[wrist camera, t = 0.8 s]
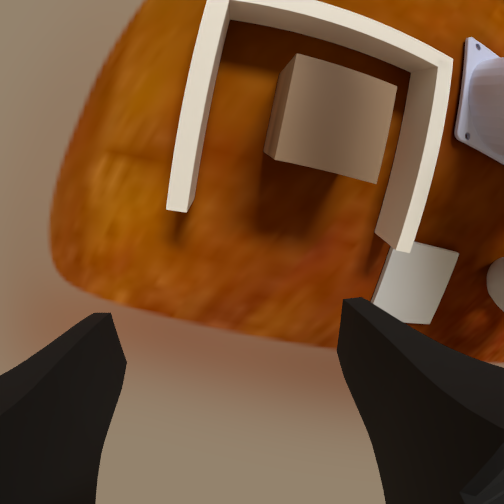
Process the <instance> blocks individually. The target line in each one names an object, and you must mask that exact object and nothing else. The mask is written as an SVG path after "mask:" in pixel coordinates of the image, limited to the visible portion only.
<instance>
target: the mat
mask: <svg viewBox="0 0 504 504" xmlns="http://www.w3.org/2000/svg"><path fill="white" fill-rule="evenodd" d="M458 256H459V253H458V252H456V251H452V250H448V249H444V248H440V247H435V246H431V245H427V244H423V243H419V242H413V245H412V248H411V251H410V253H407V252H402V251H397V250H395V249H394V248H393V247H390V250H389V253H388V255H387V258H386V261H385V264H384V267H383V270H382V273H381V275H380V278H379V281H378V284H377V286H376V289H375V292H374V294H373V297H372V299H371V303H373V304H374V305H376V306H378V307H379V308H381V309H382V310H384V311H386V312H387V313H389V314H390V315H392V316H394V317H395V318H397V319H398V320H400V321H402V322H403V323H418V324H430V322H431V320H432V318H433V316H434V314H435V312H436V309H437V307H438V305H439V303H440V301H441V298H442V296H443V294H444V291H445V289H446V287H447V284H448V282H449V279H450V277H451V274H452V272H453V269H454V267H455V264H456V261H457V259H458Z"/></svg>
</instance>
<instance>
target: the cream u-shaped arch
mask: <svg viewBox="0 0 504 504" xmlns="http://www.w3.org/2000/svg"><path fill="white" fill-rule="evenodd" d="M230 20H235V21H242V22H248V23H253V24H259V25H264V26H269V27H274V28H278V29H283V30H287V31H292V32H296V33H300V34H303V35H307V36H311V37H315V38H318V39H322V40H325V41H328V42H332V43H335V44H338V45H341V46H344V47H347V48H350V49H353V50H356V51H359V52H361V53H364V54H367V55H370V56H372V57H375V58H377V59H380V60H382V61H385V62H387V63H390V64H392V65H394V66H397V67H399V68H401V69H404V70H406V71H408V72H410V73H411V75H410V81H409V88H408V94H407V99H406V105H405V110H404V116H403V121H402V126H401V130H400V135H399V140H398V144H397V149H396V153H395V158H394V162H393V166H392V170H391V174H390V178H389V182H388V186H387V190H386V193H385V197H384V201H383V204H382V208H381V211H380V215H379V218H378V222H377V225H376V228H375V232H374V233H375V234H377V235H378V236H379V237H380V238H382V239H383V240H384V241H385V242H386V243H388V244H389V245H390V246H391V247H393V248H394V249H395V250H397V251H402V252H407V253H410V251H411V248H412V245H413V242H414V239H415V236H416V233H417V230H418V227H419V224H420V221H421V217H422V214H423V211H424V207H425V204H426V200H427V197H428V193H429V189H430V185H431V182H432V178H433V174H434V170H435V165H436V161H437V157H438V152H439V148H440V143H441V138H442V133H443V128H444V123H445V117H446V111H447V105H448V98H449V92H450V84H451V76H452V67H453V59H452V58H450V57H449V56H447V55H445V54H443V53H442V52H440V51H438V50H436V49H434V48H433V47H431V46H429V45H427V44H425V43H423V42H421V41H419V40H417V39H415V38H413V37H411V36H409V35H407V34H405V33H402V32H400V31H398V30H396V29H394V28H391V27H389V26H387V25H384V24H382V23H380V22H377V21H375V20H372V19H370V18H367V17H364V16H362V15H359V14H356V13H354V12H351V11H348V10H345V9H342V8H339V7H336V6H333V5H329V4H326V3H323V2H319V1H316V0H207V2H206V6H205V9H204V13H203V17H202V20H201V24H200V28H199V32H198V36H197V40H196V44H195V48H194V52H193V57H192V61H191V65H190V70H189V74H188V79H187V84H186V89H185V93H184V98H183V104H182V109H181V114H180V119H179V125H178V131H177V137H176V143H175V149H174V155H173V161H172V168H171V175H170V182H169V190H168V197H167V206H166V210H173V211H179V212H186V213H187V211H188V209H189V208H190V206H191V204H192V202H193V200H194V197H195V191H196V184H197V178H198V172H199V166H200V160H201V154H202V148H203V143H204V137H205V132H206V127H207V121H208V116H209V111H210V106H211V101H212V96H213V91H214V86H215V82H216V77H217V72H218V68H219V63H220V59H221V55H222V50H223V46H224V42H225V38H226V33H227V29H228V25H229V21H230Z"/></svg>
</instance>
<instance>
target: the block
mask: <svg viewBox="0 0 504 504" xmlns="http://www.w3.org/2000/svg"><path fill="white" fill-rule="evenodd" d="M396 91H397V86H395V85H393V84H390V83H388V82H385V81H383V80H380V79H377V78H375V77H372V76H369V75H367V74H364V73H361V72H358V71H355V70H352V69H349V68H346V67H343V66H340V65H337V64H334V63H330V62H327V61H324V60H320V59H317V58H313V57H309V56H306V55H302V54H298V53H297V54H296V55H295V56H294V57H293V58H292V59H291V61H290V62H289V63H288V64H287V65H286V67H285V68H284V69H283V70H282V71H281V73H280V74H279V78H278V82H277V87H276V92H275V97H274V102H273V106H272V111H271V116H270V121H269V126H268V130H267V135H266V140H265V145H264V150H263V152H264V153H266V154H267V155H269V156H270V157H272V158H273V159H274V160H279V161H284V162H288V163H293V164H298V165H302V166H307V167H311V168H315V169H320V170H324V171H328V172H332V173H336V174H340V175H344V176H348V177H352V178H356V179H359V180H363V181H367V182H370V183H374V184H376V183H377V180H378V176H379V172H380V167H381V163H382V159H383V155H384V150H385V146H386V142H387V137H388V132H389V128H390V123H391V118H392V113H393V107H394V102H395V97H396Z"/></svg>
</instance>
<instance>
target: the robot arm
mask: <svg viewBox="0 0 504 504" xmlns="http://www.w3.org/2000/svg"><path fill="white" fill-rule="evenodd" d="M476 46H477V48H476ZM454 134H455V137H456V139H457V140H459V141H461V142H463V143H465V144H467V145H468V146H470V147H472V148H474V149H476V150H478V151H480V152H482V153H483V154H485V155H487V156H489V157H491V158H492V159H494V160H496V161H497V162H499V163H501V164H503V165H504V57H503V58H500V57H499V56H497V55H496V54H495V53H493V52H492V51H491V50H489V49H488V48H487V47H485V46H484V45H482V44H481V43H480V42H478V41H477V40H475V39H474V38H472V37H469V38H467V39H466V41H465V55H464V67H463V77H462V86H461V93H460V101H459V107H458V114H457V120H456V125H455V131H454ZM465 134H467V138H465ZM337 354H338V357H339V361H340V365H341V368H342V371H343V375H344V378H345V380H346V383H347V385H348V387H349V390H350V392H351V394H352V397H353V399H354V401H355V403H356V406H357V408H358V410H359V413H360V415H361V417H362V419H363V422H364V424H365V426H366V429H367V431H368V434H369V437H370V440H371V442H372V445H373V449H374V453H375V457H376V461H377V464H378V468H379V472H380V477H381V481H382V485H383V490H384V496H385V501H386V504H504V368H502V367H499V366H496V365H492V364H489V363H486V362H483V361H480V360H477V359H475V358H472V357H469V356H467V355H465V354H462V353H460V352H458V351H455V350H453V349H451V348H449V347H447V346H444V345H442V344H440V343H438V342H437V341H435V340H433V339H431V338H429V337H427V336H425V335H424V334H422V333H420V332H418V331H417V330H415V329H413V328H411V327H410V326H408V325H406V324H405V323H403V322H402V321H400V320H398V319H397V318H395V317H394V316H392V315H390V314H389V313H387V312H386V311H384V310H382V309H381V308H379V307H378V306H376V305H374V304H373V303H371V302H369V301H368V300H366V299H364V298H362V297H359V298H350V299H343V305H342V314H341V322H340V331H339V338H338V346H337ZM126 364H127V361H126V359H125V356H124V353H123V350H122V347H121V344H120V341H119V338H118V335H117V332H116V329H115V326H114V323H113V319H112V315H111V313H93V314H91V315H90V316H88V317H86V318H85V319H83V320H82V321H80V322H79V323H77V324H76V325H75V326H73V327H72V328H70V329H69V330H68V331H66V332H65V333H64V334H62V335H61V336H60V337H58V338H57V339H55V340H54V341H53V342H51V343H50V344H49V345H47V346H46V347H44V348H43V349H42V350H40V351H39V352H37V353H36V354H34V355H33V356H31V357H30V358H29V359H27V360H26V361H24V362H22V363H21V364H19V365H18V366H16V367H14V368H13V369H11V370H9V371H8V372H6V373H4V374H2V375H0V504H95V499H96V487H97V477H98V471H99V465H100V458H101V453H102V449H103V444H104V441H105V438H106V435H107V431H108V429H109V425H110V422H111V419H112V416H113V413H114V410H115V407H116V404H117V401H118V398H119V395H120V392H121V389H122V385H123V380H124V374H125V369H126Z"/></svg>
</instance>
